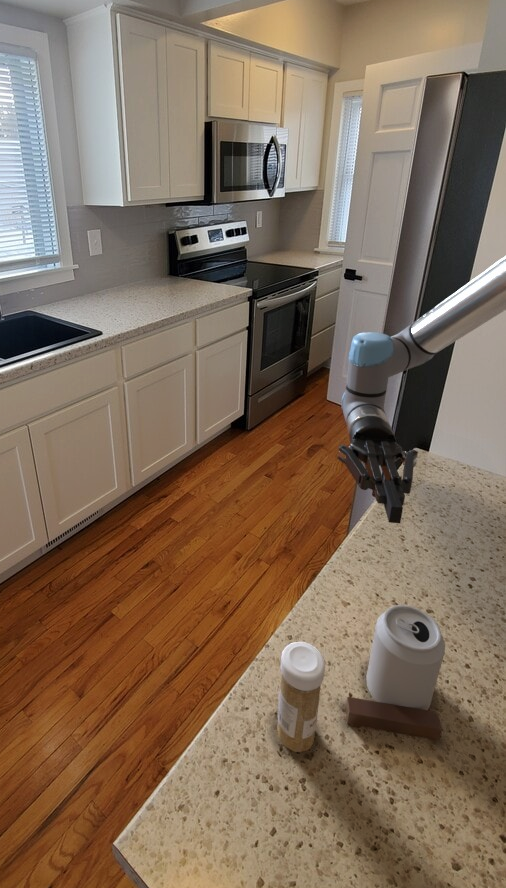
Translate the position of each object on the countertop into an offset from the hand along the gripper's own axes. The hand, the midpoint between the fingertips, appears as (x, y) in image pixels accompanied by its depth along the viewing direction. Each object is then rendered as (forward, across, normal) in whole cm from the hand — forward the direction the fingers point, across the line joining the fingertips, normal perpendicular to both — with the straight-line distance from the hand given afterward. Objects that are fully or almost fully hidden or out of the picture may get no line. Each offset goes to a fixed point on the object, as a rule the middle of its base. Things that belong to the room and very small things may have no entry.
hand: (395, 515), depth 68 cm
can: (+15, 0, -16) cm, 22 cm away
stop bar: (+20, +2, -16) cm, 26 cm away
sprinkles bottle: (+23, +13, -16) cm, 31 cm away
